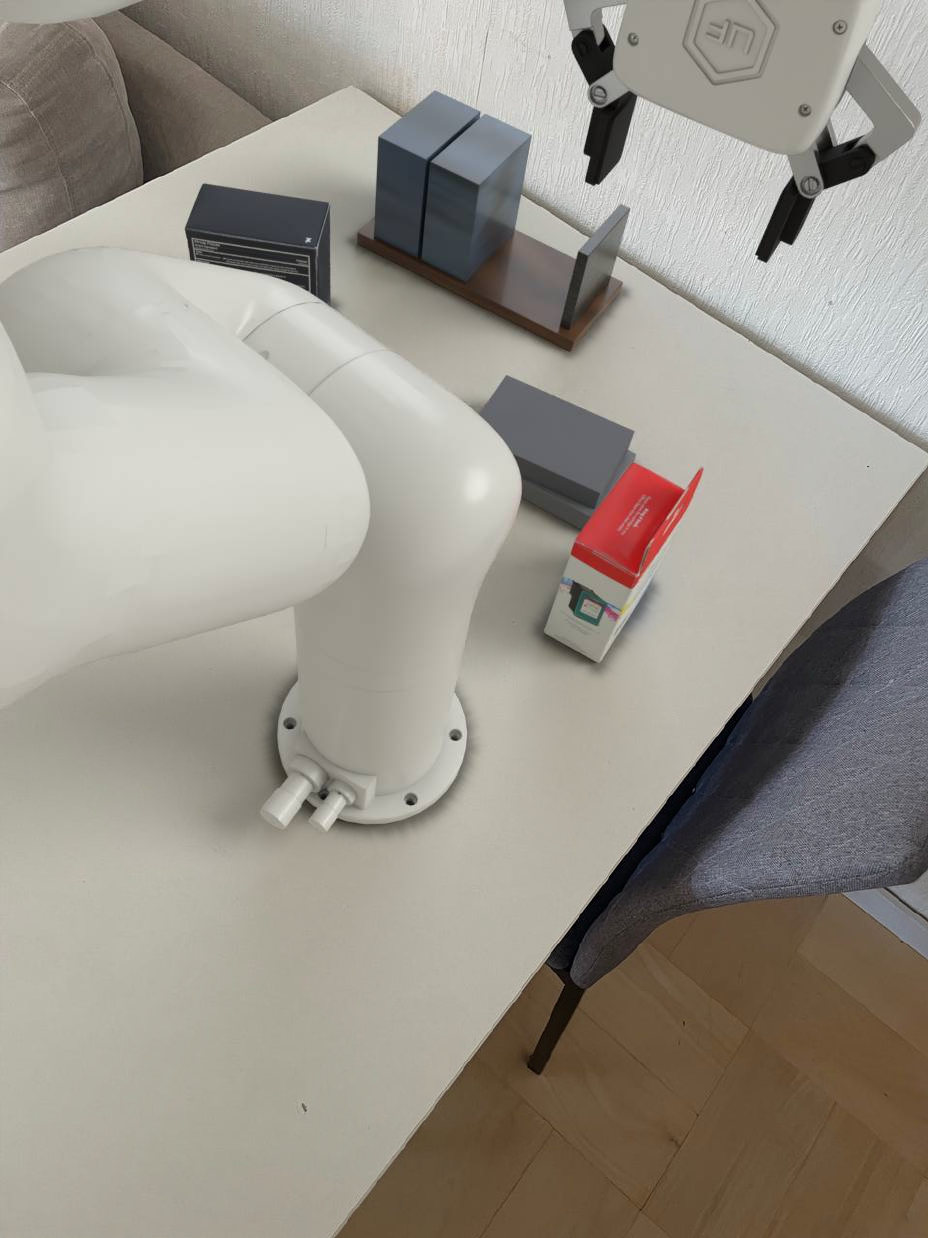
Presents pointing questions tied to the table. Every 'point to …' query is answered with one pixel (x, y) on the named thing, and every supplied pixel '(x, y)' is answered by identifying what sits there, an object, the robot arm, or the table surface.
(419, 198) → the book rack
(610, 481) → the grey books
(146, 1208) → the table surface
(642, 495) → the ink box
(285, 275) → the small box
